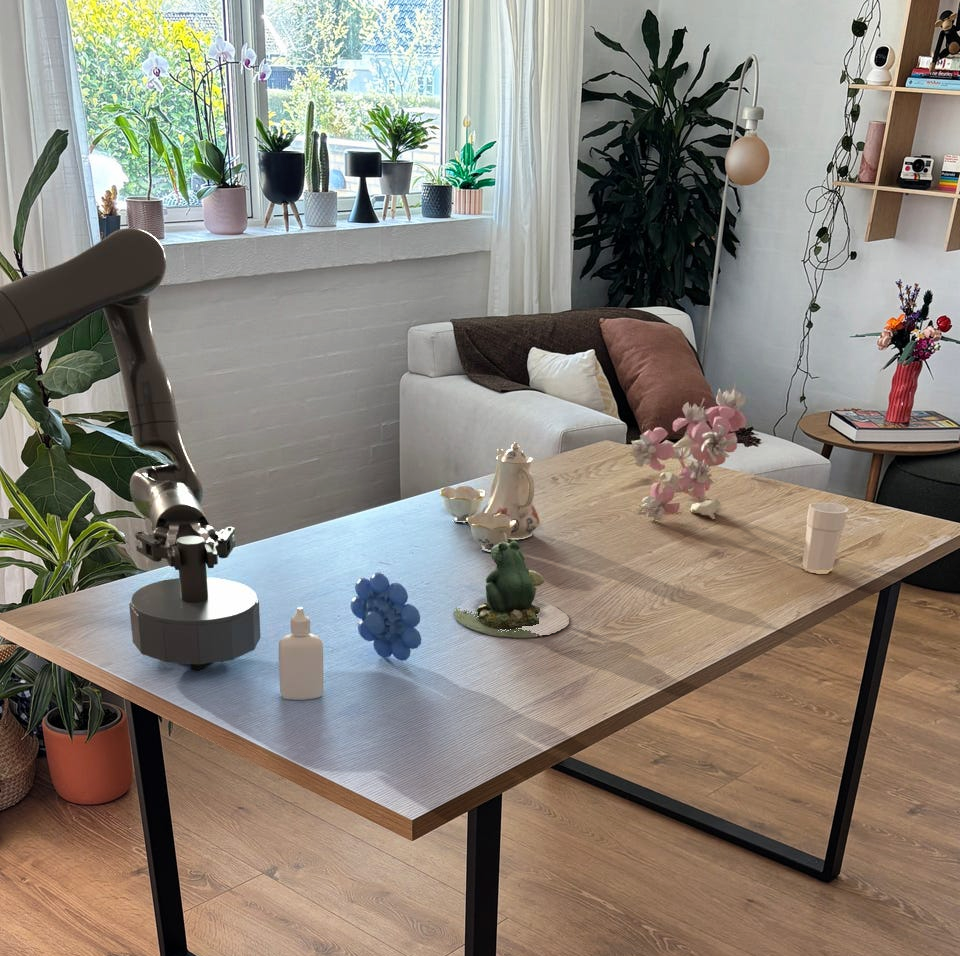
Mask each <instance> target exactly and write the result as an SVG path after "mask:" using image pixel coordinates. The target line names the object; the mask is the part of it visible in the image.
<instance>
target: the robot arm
mask: <svg viewBox="0 0 960 956" xmlns="http://www.w3.org/2000/svg"><path fill="white" fill-rule="evenodd" d="M166 269H167V257H166V252H165V250H164V248H163V246H162V244H161V243H160V241H159V240H158V239H157V238H156V237H155V236H153V235H152V234H151V233H149V232H148V231H145V230H142V229H139V228H133V227H127V228H126V227H125V228H120V229H117V230H115V231H113V232H112V233H109V234H108V235H107V236H106V237H104V238H103V239H102V240H100V241H98V242H97V243H96V244H94V245H92V246H90V247H89V248H88V249H86V250H84V251H82V252H81V253H79V254H77V255H75V256H74V257H72V258H70V259H68V260H66V261H64V262H61V263H60V264H57V265H54V266H52V267H48V268H45V269H43V270H40V271H37V272H34V273H32V274H29V275H26V276H23V277H21V278H19V279H17V280H13V281H11V282H9V283H6V284H4V285H1V286H0V369H2V368H5V367H7V366H10V365H12V364H15V363H16V362H18V361H20V360H23V359H24V358H27V357H28V356H30V355H32V354H34V353H36V352H37V351H39V350H42V349H43V348H44V347H46V346H48V345H49V344H51V343H52V342H54V341H55V340H57V339H58V338H60V337H61V336H63V335H64V334H65V333H67V332H68V331H69V330H71V329H73V328H74V327H75V326H76V325H78V324H79V323H80V322H82V321H83V320H84V319H86V318H88V317H89V316H90V315H92V314H94V313H96V312H98V311H100V310H103V313H104V316H105V319H106V321H107V325H108V328H109V332H110V335H111V339H112V342H113V346H114V349H115V353H116V357H117V361H118V365H119V371H120V374H121V379H122V384H123V389H124V395H125V400H126V406H127V407H126V408H127V412H128V417H129V424H130V429H131V435H132V440H133V442H134V445H135V446H136V447H137V448H138V449H140V450H143V451H150V452H152V451H153V452H159V453H163V454H165V455H167V456H168V457H169V458H170V460H171V461H172V464H171V463H170V464H163V465H155V466H154V465H153V466H144V467H140V468H138V469H137V470H135V471H134V472H133V474H132V475H131V477H130V480H129V494H130V497H131V500H132V503H133V505H134V506H135V508H136V510H138V512H139V513H140V514H141V516H142V517H144V518H146V519H148V520H149V521H150V527H151V529H152V534H151V533H149V532H148V533H146V532H145V531H142V530H137V531H135V532H134V536H135V549H136V551H137V552H138V553H139V554H141V555H143V556H144V557H146V558H147V559H149V560H151V561H152V562H156V563H159V562H161V561H163V559H164V560H166V562H167V565H168V566H169V567H171V568H174V570H175V571H179V570H181V562H180V553H179V551H178V548H177V539H178V538H180V537H183V536H199V537H202V538H204V540H205V555H206V567H207V569H214V567H215V565H218V564H219V558H220V559H226V558H228V557H229V556H230V554H231V552H233V550H234V548H235V546H236V536H235V527H232V526H227V527H225V528H224V529H220V531H216V529H215V528H214V527H213V526H211V525H210V523H209V521H208V518H207V516H206V514H205V511H204V510H203V508H202V506H201V502H202V500H203V495H204V494H203V493H204V491H203V484H202V482H201V479H200V477H199V474H198V473H197V471H196V468H195V466H194V465H193V463H192V460H191V458H190V455H189V454H188V453H189V452H188V451H187V448H186V447H185V443H184V441H183V436H182V433H181V429H180V424H179V418H178V412H177V406H176V401H175V396H174V391H173V387H172V384H171V381H170V380H171V379H170V378H169V376H168V372H167V370H166V367H165V365H164V363H163V361H162V358H161V356H160V353H159V351H158V347H157V345H156V341H155V338H154V333H153V328H152V322H151V321H152V320H151V310H150V307H151V305H150V303H151V302H150V296H151V295H152V293H153V294H154V292H155V291H156V290H157V289H158V288H159V287H160V285H161V284H162V282H163V279H164V277H165V275H166Z"/></svg>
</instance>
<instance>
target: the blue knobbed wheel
mask: <svg viewBox="0 0 960 956" xmlns="http://www.w3.org/2000/svg"><path fill="white" fill-rule="evenodd" d="M354 590H355V593H356V595H357V596H354V597H353V598H352V599H351V601H350V610H351V612H352V614H353V615H354V616H355V617H356V618H358V619H360V620H359V622H358V625H357V631H358V634H359V636H360V637H361V638H362V639H363V640H364V641H367V642H373V649H374V651H375V652H376V654H377V655H378V656H379V657H382V658H385V659H386V658H389V657H391V656H393V657H394V658H395V659H396V660H398V661H401V662H404V661H407V660H408V659H409V658H410V657H411V653H412V652H411V650H415V649H418V648H419V647H420V645H421V644H422V636H421V633H420V631H419V630H418V629H417V628H416V627H417V626H418V625H419V624H420V623H421V614H420V611H419V610H418V608H416V606H415V605H414V604H410V603H407V602H408V599H409V595H408V591H407V589H406V588H405V587H404V585H403V584H401V583H399V582H393V583H390V581H389V578H388V577H387V576H386V575H385V574H384V573H381V572H374V573H373V574H371V576H370V577H369V579H368V578H366V577H360V578H359V579H357V581H355V585H354Z"/></svg>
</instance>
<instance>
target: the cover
mask: <svg viewBox="0 0 960 956" xmlns="http://www.w3.org/2000/svg"><path fill="white" fill-rule="evenodd" d="M177 548H178V551H179V553H180V562H181V570H178V577H176V578H168V579H164V580H159V581H155V582H152V583H149V584H147V585H145V586H142V587H140V588H139V589H138V590H136V591H135V592H134V593H133V594H132V596H131V598H130V603H129V604H128V605H129V616H130V628H131V637H132V643H133V645H134V646H135V647H136V649H137V650H138V651H139V652H140V654H141V655H143V656H146V657H149V658H152V659H155V660H158V661H161V662H164V663H171V664H185V665H186V664H188V665H190V664H206V663H213V662H214V663H219V662H221V661H223V662H226V661H227V662H228V661H232V660H233V661H234V660H235V659H237V658H239V657H242V656H243V655H246V654H248V653H250V652H253V651H254V650H255V649H256V648H257V645H258V643H259V642H260V639H261V616H260V615H261V614H260V613H261V612H260V600H259V599H258V596H257V594H256V592H255V591H254V590H253V589H252V588H251V587H249V586H247V585H245V584H242V583H240V582H237V581H234V580H229V579H224V578H219V577H208V573H207V564H206V555H205V540H204V538H202V537H199V536H183V537H180V538H178V539H177ZM214 663H213V664H214Z"/></svg>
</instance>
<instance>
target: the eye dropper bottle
mask: <svg viewBox="0 0 960 956" xmlns="http://www.w3.org/2000/svg"><path fill="white" fill-rule="evenodd" d="M324 675H325V674H324V644H323V641H322V639H321V638H320V636H318V635H316V634H312V633H311V618H310V617H309V616H307V615H306V614H305V611H304V607H302V606H298V607H296V613H295V615H293V616H292V617H291V618H290V634H287V635H285V636H283V637H281V638H280V640H279V641H278V677H279V694H280V696H281V698H282V699H285V700H288V701H289V700H290V701H307V700H308V701H309V700H314V699H319V698H321V697H322V696H324V693H325V692H324V691H325V688H324V687H325V686H324V680H325V679H324Z"/></svg>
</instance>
